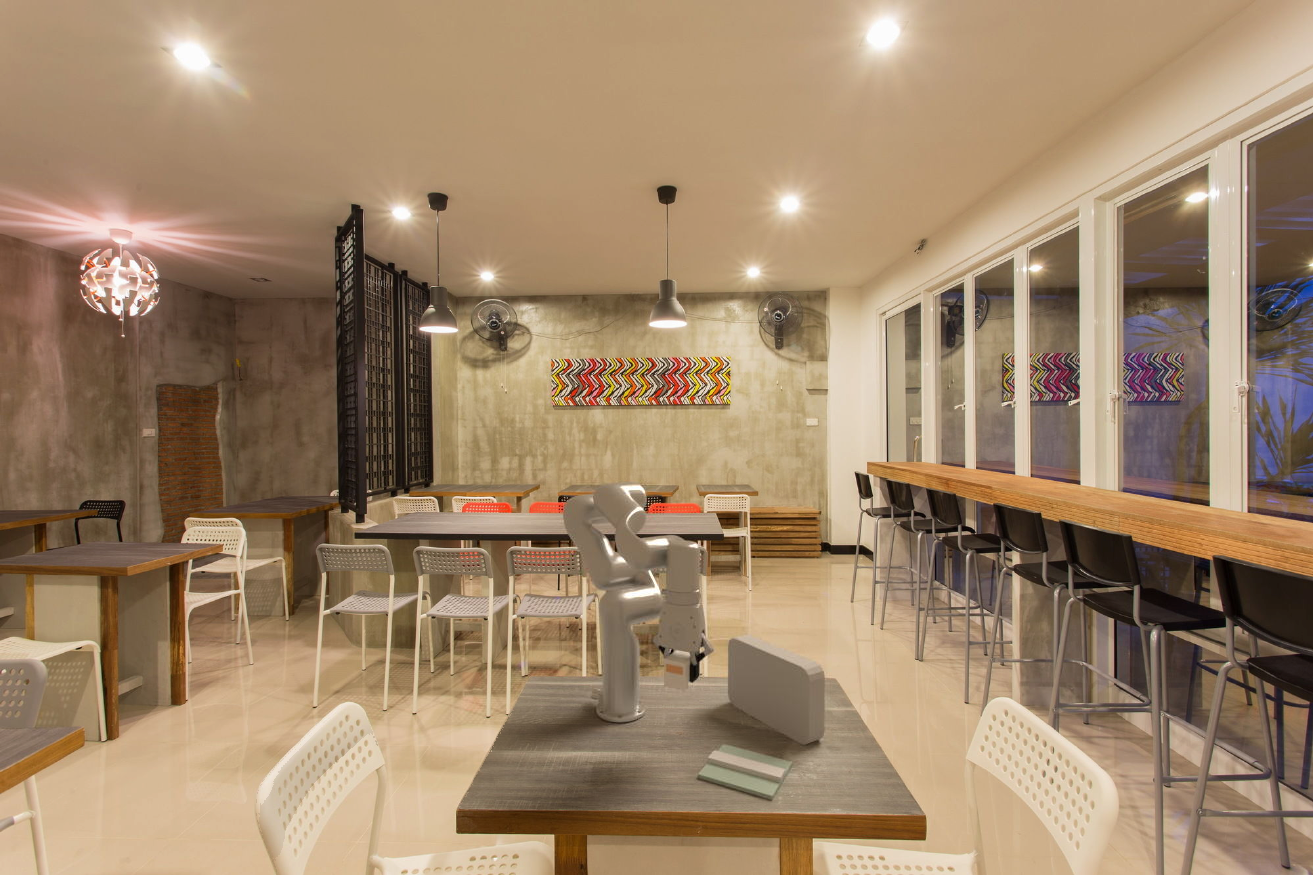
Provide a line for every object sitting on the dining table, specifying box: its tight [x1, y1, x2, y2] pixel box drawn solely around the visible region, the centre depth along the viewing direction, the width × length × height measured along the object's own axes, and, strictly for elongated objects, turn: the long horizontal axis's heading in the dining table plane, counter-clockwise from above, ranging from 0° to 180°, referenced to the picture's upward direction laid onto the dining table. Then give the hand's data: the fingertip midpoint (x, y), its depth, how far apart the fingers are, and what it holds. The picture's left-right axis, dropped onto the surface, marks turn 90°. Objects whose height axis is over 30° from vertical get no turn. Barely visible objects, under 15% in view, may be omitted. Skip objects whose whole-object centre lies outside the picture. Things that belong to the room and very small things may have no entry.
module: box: [663, 650, 701, 692], centre depth 135 cm, size 5×8×6 cm, turn 152°
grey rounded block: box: [727, 634, 826, 746], centre depth 151 cm, size 29×8×18 cm, turn 33°
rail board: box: [697, 743, 793, 801], centre depth 128 cm, size 16×14×2 cm
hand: (682, 677), depth 135 cm, fingers closed on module, 4 cm apart
